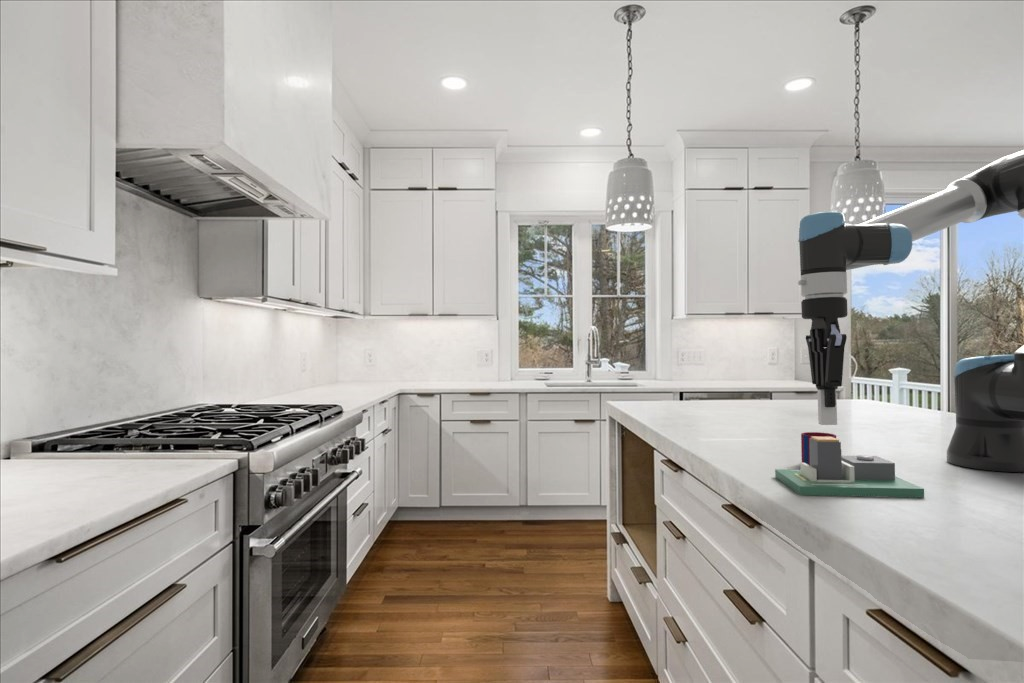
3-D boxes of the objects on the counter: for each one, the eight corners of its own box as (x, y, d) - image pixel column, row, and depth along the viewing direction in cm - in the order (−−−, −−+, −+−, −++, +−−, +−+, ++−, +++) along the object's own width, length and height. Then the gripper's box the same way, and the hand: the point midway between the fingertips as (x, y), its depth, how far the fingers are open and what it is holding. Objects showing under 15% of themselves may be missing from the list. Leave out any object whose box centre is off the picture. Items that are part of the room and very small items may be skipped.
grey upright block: (835, 475, 110) (834, 436, 110) (844, 480, 106) (843, 439, 106) (809, 475, 110) (809, 436, 110) (818, 480, 106) (817, 439, 106)
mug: (833, 463, 128) (833, 432, 128) (842, 473, 118) (841, 440, 118) (800, 462, 130) (799, 431, 130) (805, 471, 121) (805, 438, 121)
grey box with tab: (876, 471, 113) (876, 453, 113) (895, 479, 106) (894, 460, 106) (837, 470, 114) (837, 452, 114) (853, 479, 107) (853, 460, 107)
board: (883, 478, 113) (883, 456, 113) (924, 497, 99) (923, 472, 99) (775, 476, 116) (774, 455, 116) (799, 494, 102) (799, 470, 102)
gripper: (790, 300, 115) (794, 419, 115) (815, 295, 102) (819, 429, 102) (831, 299, 114) (835, 419, 114) (861, 293, 101) (865, 429, 101)
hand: (827, 424), depth 108 cm, fingers closed
